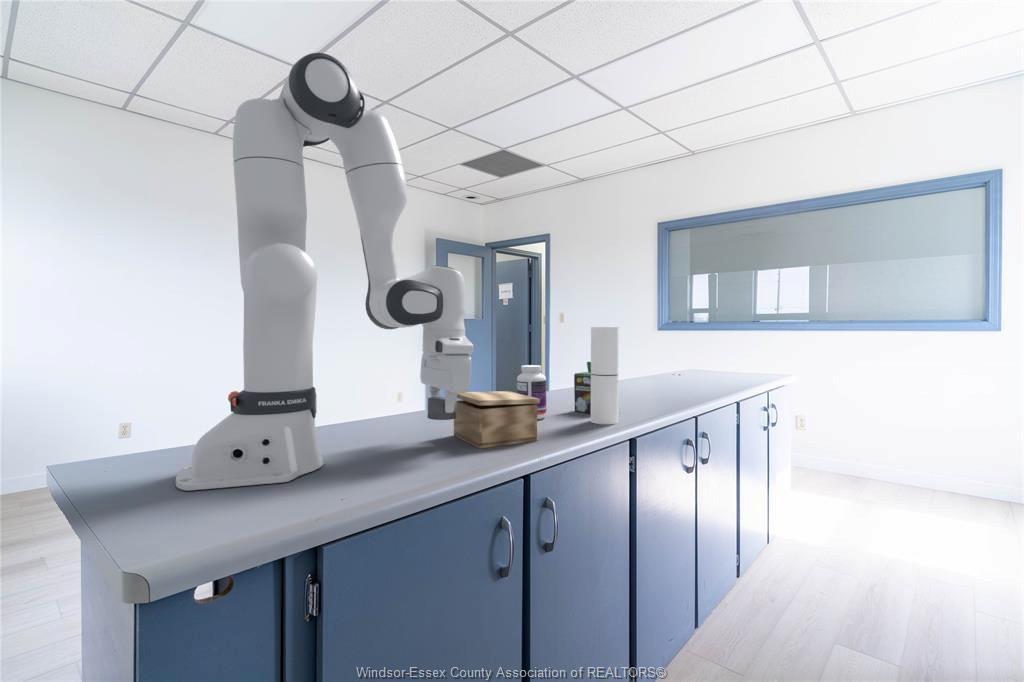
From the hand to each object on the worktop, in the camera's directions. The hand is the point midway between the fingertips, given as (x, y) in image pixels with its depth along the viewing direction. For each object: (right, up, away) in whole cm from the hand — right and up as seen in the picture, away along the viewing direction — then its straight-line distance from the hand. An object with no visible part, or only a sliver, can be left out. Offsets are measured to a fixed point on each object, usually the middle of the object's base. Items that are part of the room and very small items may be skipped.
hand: (442, 409), depth 104 cm
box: (+11, -7, +7) cm, 15 cm away
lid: (+11, +1, +7) cm, 13 cm away
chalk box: (+40, -7, +42) cm, 58 cm away
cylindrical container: (+39, -7, +26) cm, 48 cm away
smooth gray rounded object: (0, -2, 0) cm, 2 cm away
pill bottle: (+20, -7, +32) cm, 38 cm away
